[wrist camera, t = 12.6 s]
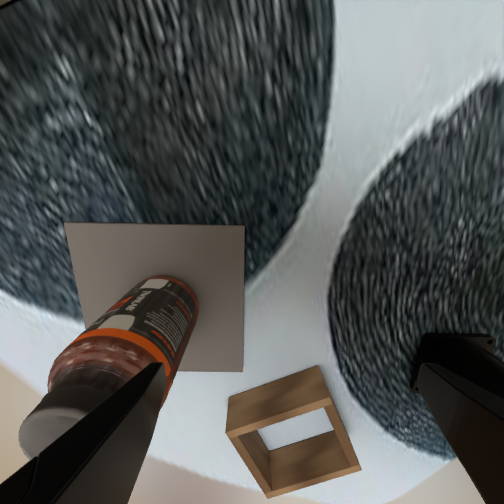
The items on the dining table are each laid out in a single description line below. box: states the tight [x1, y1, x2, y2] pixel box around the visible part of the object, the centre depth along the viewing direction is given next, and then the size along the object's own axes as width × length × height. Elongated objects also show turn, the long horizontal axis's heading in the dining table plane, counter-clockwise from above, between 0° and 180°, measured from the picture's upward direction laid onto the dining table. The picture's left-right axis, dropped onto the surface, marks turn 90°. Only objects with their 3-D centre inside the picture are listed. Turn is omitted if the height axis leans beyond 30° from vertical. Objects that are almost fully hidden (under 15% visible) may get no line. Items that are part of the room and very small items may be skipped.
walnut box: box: [225, 366, 362, 498], centre depth 23 cm, size 10×10×4 cm
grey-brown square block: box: [64, 222, 245, 372], centre depth 20 cm, size 14×14×1 cm
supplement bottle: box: [19, 276, 199, 460], centre depth 15 cm, size 6×6×11 cm
